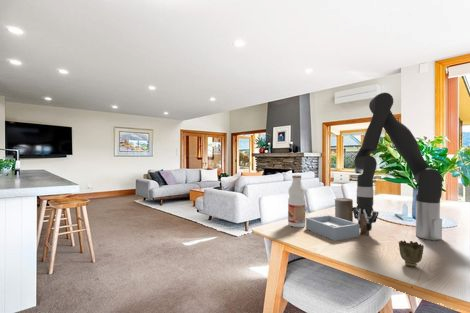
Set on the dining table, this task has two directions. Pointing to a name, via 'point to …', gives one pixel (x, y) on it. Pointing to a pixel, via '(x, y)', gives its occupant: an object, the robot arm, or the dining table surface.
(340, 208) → the pillar candle
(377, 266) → the dining table surface
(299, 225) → the fruit juice
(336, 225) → the box
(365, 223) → the peg
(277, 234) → the dining table surface
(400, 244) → the mottled brown rounded lump
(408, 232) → the dining table surface
